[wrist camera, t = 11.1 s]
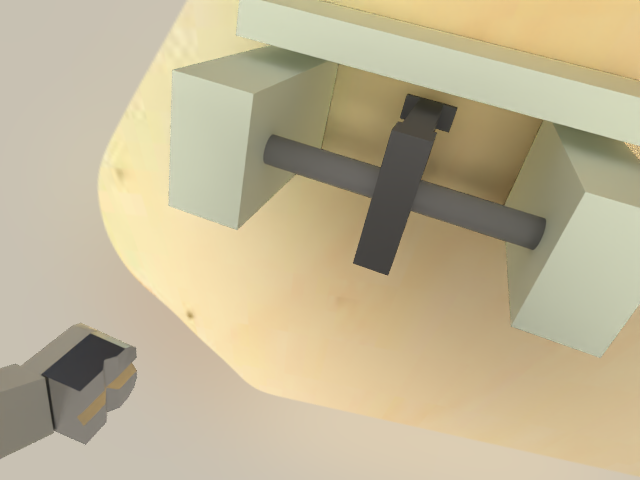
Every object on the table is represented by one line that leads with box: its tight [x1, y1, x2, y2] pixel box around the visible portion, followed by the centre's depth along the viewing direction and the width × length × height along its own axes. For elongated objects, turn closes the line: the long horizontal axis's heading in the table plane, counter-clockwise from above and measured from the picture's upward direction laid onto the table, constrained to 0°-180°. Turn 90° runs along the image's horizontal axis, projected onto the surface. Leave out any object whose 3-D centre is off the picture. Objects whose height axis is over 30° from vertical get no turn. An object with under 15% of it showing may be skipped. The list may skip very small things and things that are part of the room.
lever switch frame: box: [169, 0, 640, 358], centre depth 26 cm, size 22×10×14 cm, turn 78°
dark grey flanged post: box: [353, 94, 457, 275], centre depth 25 cm, size 3×7×9 cm, turn 168°
